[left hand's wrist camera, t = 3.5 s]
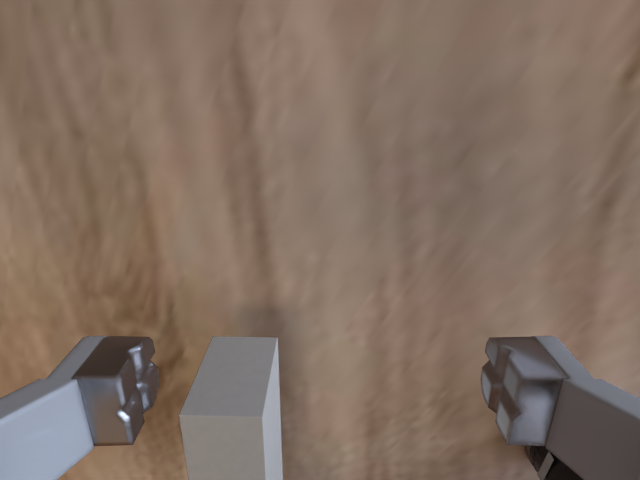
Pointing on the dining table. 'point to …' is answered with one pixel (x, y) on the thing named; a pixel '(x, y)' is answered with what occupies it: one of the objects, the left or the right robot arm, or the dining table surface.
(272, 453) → the bar
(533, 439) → the left robot arm
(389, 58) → the dining table surface
